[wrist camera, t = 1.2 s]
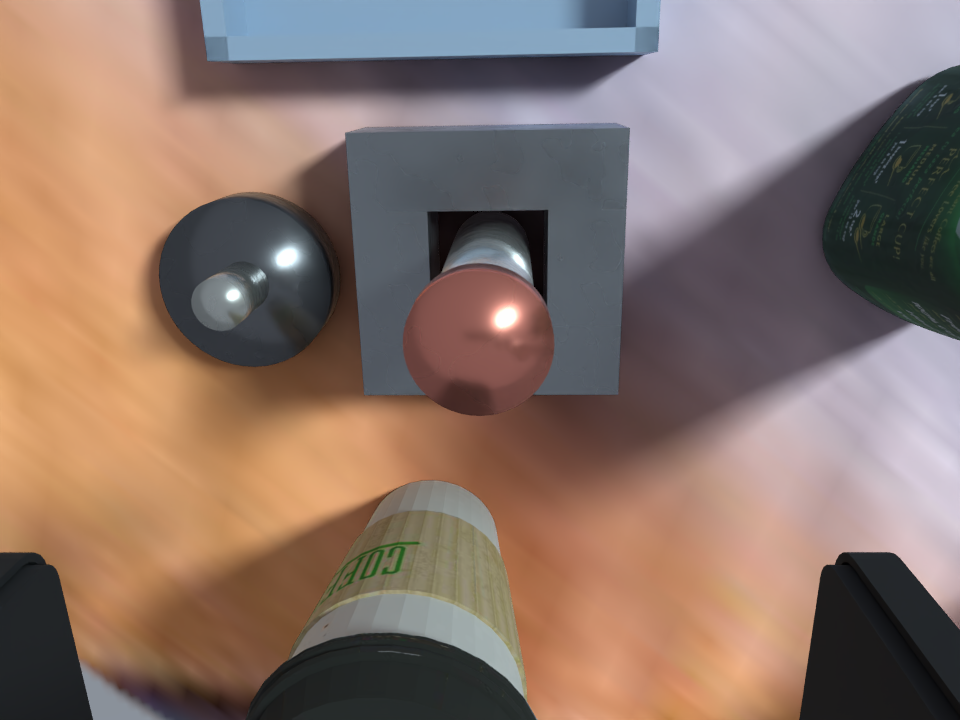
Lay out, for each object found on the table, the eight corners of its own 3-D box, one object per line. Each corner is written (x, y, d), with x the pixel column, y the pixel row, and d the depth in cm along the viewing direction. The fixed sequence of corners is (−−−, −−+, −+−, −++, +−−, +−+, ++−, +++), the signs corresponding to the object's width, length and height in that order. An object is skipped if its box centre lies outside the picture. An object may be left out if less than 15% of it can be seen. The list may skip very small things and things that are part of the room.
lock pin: (539, 200, 32) (555, 270, 20) (538, 294, 33) (553, 415, 21) (442, 201, 32) (398, 271, 20) (445, 295, 33) (406, 415, 21)
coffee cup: (311, 458, 36) (183, 694, 22) (520, 432, 35) (524, 661, 21) (354, 631, 39) (266, 934, 25) (547, 611, 39) (566, 914, 24)
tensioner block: (615, 122, 31) (629, 128, 27) (606, 360, 34) (618, 394, 30) (365, 127, 31) (345, 132, 27) (380, 361, 35) (364, 395, 31)
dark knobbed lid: (333, 190, 32) (302, 208, 27) (346, 351, 34) (319, 392, 30) (167, 193, 32) (109, 211, 28) (191, 351, 35) (140, 393, 30)
